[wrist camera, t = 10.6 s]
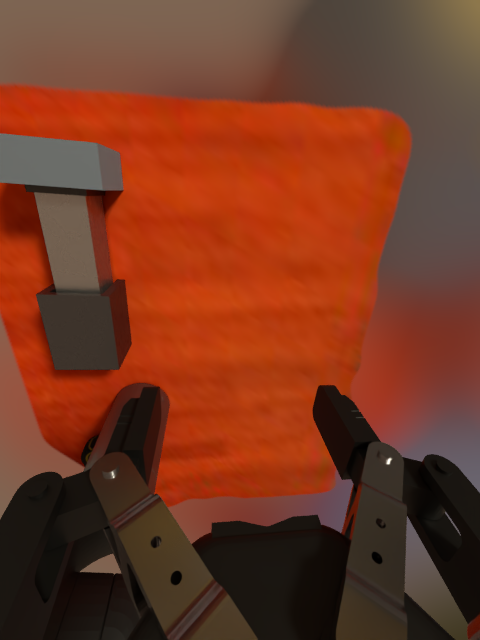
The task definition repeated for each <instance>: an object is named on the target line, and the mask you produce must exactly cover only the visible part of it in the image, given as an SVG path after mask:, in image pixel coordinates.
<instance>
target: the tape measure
mask: <svg viewBox="0 0 480 640" xmlns="http://www.w3.org/2000/svg"><path fill="white" fill-rule="evenodd" d="M98 437H99V436H95V437H93V438H91V439H90V440H89V441H88V442H87V444H86V446H85V447H84V450H83V452H82V456H81V461H82V462H83V464H84V466H86V464H87V462H88V460H89V457H90V455H91V453H92V451H93V448H94V446H95V444H96V442H97V439H98Z"/></svg>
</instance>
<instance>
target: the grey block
mask: <svg viewBox="0 0 480 640" xmlns="http://www.w3.org/2000/svg"><path fill="white" fill-rule="evenodd" d="M0 182H1V183H14V184H27V185H40V186H53V187H66V188H78V189H91V190H123V181H122V171H121V160H120V153H119V152H117V151H114V150H112V149H110V148H107V147H105V146H103V145H100V144H98V143H91V142H81V141H71V140H61V139H51V138H40V137H30V136H20V135H10V134H0Z"/></svg>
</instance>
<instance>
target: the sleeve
mask: <svg viewBox="0 0 480 640" xmlns="http://www.w3.org/2000/svg"><path fill="white" fill-rule="evenodd" d="M36 297H37V301H38V305H39V308H40V312H41V316H42V320H43V324H44V328H45V332H46V336H47V339H48V343H49V347H50V351H51V355H52V359H53V363H54V367H55V370H119V369H120V367H121V365H122V363H123V361H124V359H125V357H126V355H127V353H128V351H129V349H130V347H131V344H132V342H131V333H130V324H129V315H128V306H127V296H126V287H125V280H119V279H117V280H116V281H115V282H114V283H113V284H112V285H111V286H110V287H109V288H108V289H107V290H106V291H105V292H104V293H103V294H87V293H56V289H55V284H52V285H51V286H49V287H47V288H46V289H44V290H42V291H41V292H39V293H37V294H36Z"/></svg>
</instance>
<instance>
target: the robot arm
mask: <svg viewBox="0 0 480 640" xmlns="http://www.w3.org/2000/svg"><path fill="white" fill-rule="evenodd" d="M169 406H170V404H169V399H168V396H167V395H166V394H165V392H163V391H162V390H161V389H160V387H156V386H154V385H151V384H146V383H137V384H132V385H129V386H127V387H125V388H123V389H122V390H121V391H120V392H119V393H118V395H117V396H116V399H115V401H114V403H113V406H112V408H111V410H110V412H109V414H108V417H107V419H106V421H105V423H104V426H103V428H102V430H101V432H100V435H99V437H98V439H97V442H96V444H95V446H94V448H93V451H92V453H91V455H90V457H89V460H88V462H87V464H86V466H85V469H84V471H83V472H82V473H79V474H76V475H73V476H70V477H66V478H64V479H62V477H61V475H59V474H58V473H55V472H45V473H41V474H38V475H36V476H34V477H32V478H30V479H29V480H27V481H26V482H25V483H23V484H22V485H21V486H20V488H19V489H18V490H17V491H16V493H15V494H14V496H13V498H12V500H11V501H10V503H9V505H8V507H7V508H6V510H5V512H4V514H3V515H2V517H1V519H0V640H455V639H454V638H453V637H452V636H451V635H449V634H448V633H447V632H446V631H445V630H444V629H443V628H442V627H441V626H440V625H439V624H438V623H437V622H436V621H435V620H434V619H433V618H432V617H431V616H429V615H428V614H427V613H426V612H425V611H424V610H423V609H422V608H421V607H420V606H419V605H418V604H417V603H416V602H415V601H413V599H412V598H411V597H409V596H408V595H407V594H406V593H405V592H404V590H405V558H406V557H405V556H406V525H407V516H408V518H409V519H410V521H411V523H412V525H413V527H414V529H415V530H416V532H417V534H418V535H419V538H420V539H421V541H422V543H423V545H424V546H425V548H426V550H427V552H428V553H429V555H430V557H431V559H432V561H433V562H434V564H435V566H436V568H437V570H438V571H439V573H440V575H441V576H442V579H443V580H444V582H445V584H446V586H447V587H448V589H449V591H450V593H451V595H452V596H453V598H454V600H455V602H456V603H457V605H458V607H459V609H460V611H461V612H462V614H463V616H464V618H465V619H466V621H467V623H468V628H467V635H468V640H480V493H479V492H478V491H477V489H476V488H475V487H474V486H473V485H472V483H471V482H470V481H469V480H468V479H467V477H466V476H465V475H464V474H463V473H462V472H461V470H460V469H459V468H458V467H457V466H456V465H455V464H453V463H452V462H450V461H449V460H448V459H446V458H444V457H441V456H439V455H434V454H431V455H427V456H425V458H424V460H423V461H422V462H420V461H416V460H412V459H408V458H404V457H402V456H401V455H400V453H399V452H398V451H397V450H396V449H395V448H393V447H392V446H390V445H388V444H386V443H382V442H381V441H380V440H379V438H378V437H377V435H376V434H375V432H374V431H373V430H372V428H371V427H370V425H369V424H368V422H367V421H366V419H365V418H364V417H363V415H362V414H361V412H359V409H358V408H357V406H356V405H355V404H354V402H353V401H352V400H350V399H349V398H348V397H347V396H345V395H341V394H340V392H339V391H338V389H337V388H336V386H334V385H320V386H319V387H318V389H317V393H316V397H315V401H314V406H313V418H314V421H315V423H316V425H317V427H318V430H319V432H320V434H321V436H322V438H323V440H324V442H325V445H326V447H327V449H328V451H329V453H330V455H331V457H332V460H333V462H334V464H335V466H336V468H337V470H338V472H339V474H340V477H341V479H342V480H343V479H344V480H345V479H351V480H352V481H353V487H352V491H351V495H350V500H349V504H348V508H347V512H346V517H345V522H344V525H343V529H342V532H341V533H340V532H338V531H336V530H334V529H332V528H330V527H327V526H325V525H321V523H320V520H319V518H318V515H310V516H297V517H291V518H288V519H286V520H284V521H281V522H279V523H276V524H274V525H271V526H267V527H266V526H261V525H256V524H251V523H247V522H242V521H230V522H217V523H212V531H211V533H209V534H206V535H204V536H203V537H201V538H199V539H198V540H196V541H195V542H194V543H193V544H191V543H190V541H189V540H188V538H187V537H186V535H185V534H184V532H183V531H182V529H181V528H180V526H179V525H178V523H177V522H176V520H175V519H174V517H173V515H172V514H171V512H170V511H169V510H168V508H167V506H166V505H165V503H164V502H163V500H162V499H161V497H160V496H159V495H158V494H155V495H154V493H155V487H156V480H157V475H158V469H159V463H160V458H161V452H162V446H163V440H164V435H165V429H166V424H167V418H168V412H169ZM445 512H447V514H448V515H449V517H450V518H451V519H452V521H453V522H454V524H455V525H456V527H457V528H458V530H459V532H460V534H461V536H460V535H459V533H458V532H457V530H456V529H455V527H454V526H453V524H452V523H451V521H450V520H449V519H448V517H447V515H446V514H445ZM110 554H114V556H115V559H116V561H117V563H118V565H119V568H120V570H121V573H122V574H118V573H116V574H115V575H114V574H113V573H91V572H80V571H81V570H82V569H84V568H85V567H86V566H88V565H89V564H91V563H92V562H94V561H96V560H98V559H100V558H102V557H105V556H107V555H110Z"/></svg>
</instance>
